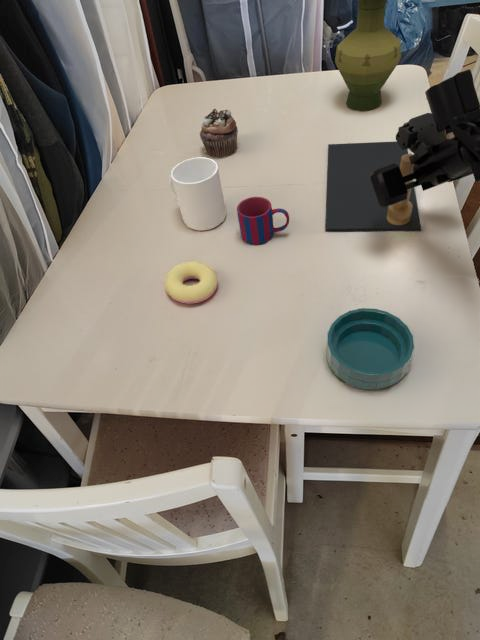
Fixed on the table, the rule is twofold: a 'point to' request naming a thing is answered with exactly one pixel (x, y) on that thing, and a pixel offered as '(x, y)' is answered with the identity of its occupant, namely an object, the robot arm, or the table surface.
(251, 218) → the cup
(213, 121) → the cupcake
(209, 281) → the donut
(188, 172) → the mug
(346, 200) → the mat
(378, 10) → the vase
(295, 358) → the table surface
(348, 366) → the bowl
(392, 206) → the stick
